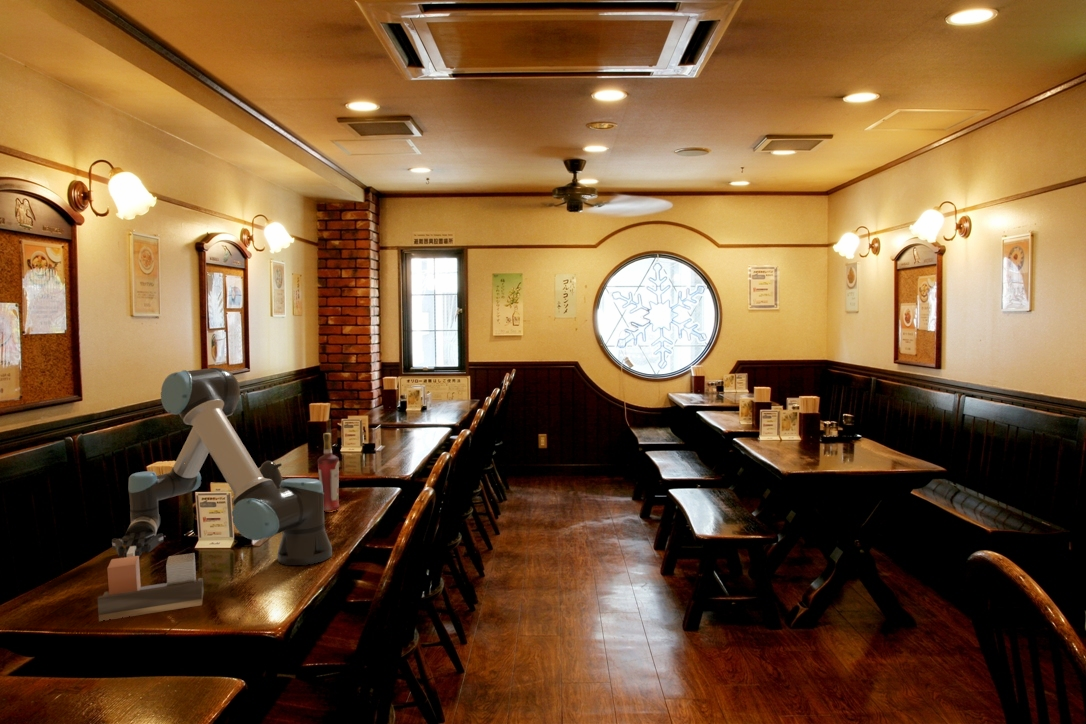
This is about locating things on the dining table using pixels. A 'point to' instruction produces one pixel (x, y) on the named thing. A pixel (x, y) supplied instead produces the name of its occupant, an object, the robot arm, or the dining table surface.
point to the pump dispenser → (271, 472)
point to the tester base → (150, 600)
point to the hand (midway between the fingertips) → (130, 558)
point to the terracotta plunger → (124, 575)
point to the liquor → (329, 475)
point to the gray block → (181, 569)
